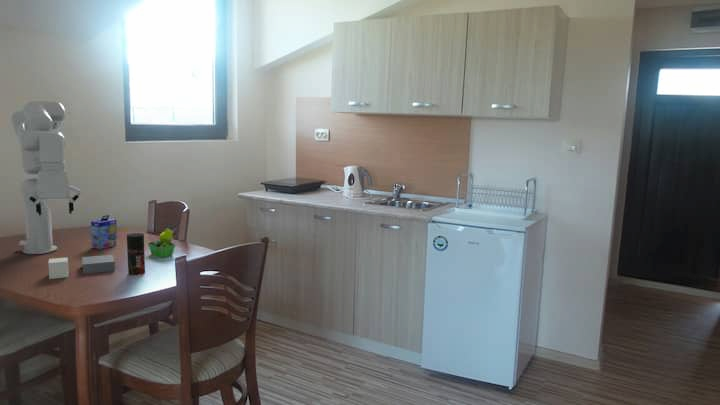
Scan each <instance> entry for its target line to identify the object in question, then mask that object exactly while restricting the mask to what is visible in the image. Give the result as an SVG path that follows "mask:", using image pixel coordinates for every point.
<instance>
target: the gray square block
mask: <svg viewBox="0 0 720 405" xmlns="http://www.w3.org/2000/svg"><path fill="white" fill-rule="evenodd" d="M114 257H115V256H114V255H113V254H108V255H107V254H106V255H104V254H103V255H95V256H84V257H83V256H82V257H81V258H82V261H81V262H82V274H84V275H85V274H95V273H104V272H115V271H116V262H115V258H114Z"/></svg>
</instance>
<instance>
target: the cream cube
mask: <svg viewBox="0 0 720 405" xmlns="http://www.w3.org/2000/svg"><path fill="white" fill-rule="evenodd" d="M47 266H48V277H49V278H48V279H49V280H50V279H51V280H52V279H62V278H63V279H64V278H69V273H70V272H69V258H68V257H57V258H49V259H48V264H47Z"/></svg>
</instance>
